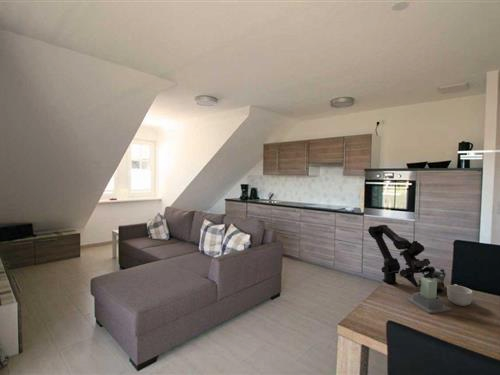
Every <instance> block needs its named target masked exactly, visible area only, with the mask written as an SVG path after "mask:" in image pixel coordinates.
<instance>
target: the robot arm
mask: <svg viewBox="0 0 500 375" xmlns="http://www.w3.org/2000/svg"><path fill="white" fill-rule="evenodd" d="M367 232H368V234H369V235H370V237H372V239H374V240H375V242H376V245H377V247H378V249H379V251H380V253H381V255H382V259H383V266H382V267H381V272H382V273H383V278H382V279H381V281H382V282H384V281H385V282H384V283H386V284H387V285H394V284H398V282H397V276H396V274H397V275H398V274H399V275H400V277H403V278H404V279H406V280H407V281H408V282H410V284H412V285H413V286H414V287H416V288H419V285H418V281H417V280H416V278H415V275H414V274H422V275H423V276H424V277H425V278H431V279H432V274H433V273H434V272H435V271H436V270H435V269H436V268H435V267H434V266H432V265H431V262H430V259H429V258H423V259H422V260H420V259H419V258H417V256H419V255H420V254H421V253H423V252H424V251H425V247H424V245H423V244H421V243H420V242H418V240H413V241H412V242H410V241H409V240H408V239H406V238H404V237H402V236H399V234H397V233H396V232H395V231H393V230H392V229H391V228H390V227H389V226H388V225H386V224H379V225H376V226H375V225H374V226H369V227H368V228H367ZM384 235H385V236H386V237H387V238H388V240H389V239H390V240H391V242H392V243H393V246H394V248H396V249H397V250H399V251H400V250H401V251H400V252H399V256H400V257H403V259H404V260H405V262H406V263H405V266H407V267H404V268H402V269H401V264H400V262H399V260H398V259H397V258H396V257H395V258H394V257H393V255H392V254H391V251H390V249H389V247H388V245H387V243H386V242H385V240H384V238H383V237H384ZM429 265H431V266H429ZM434 268H435V269H434Z"/></svg>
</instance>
